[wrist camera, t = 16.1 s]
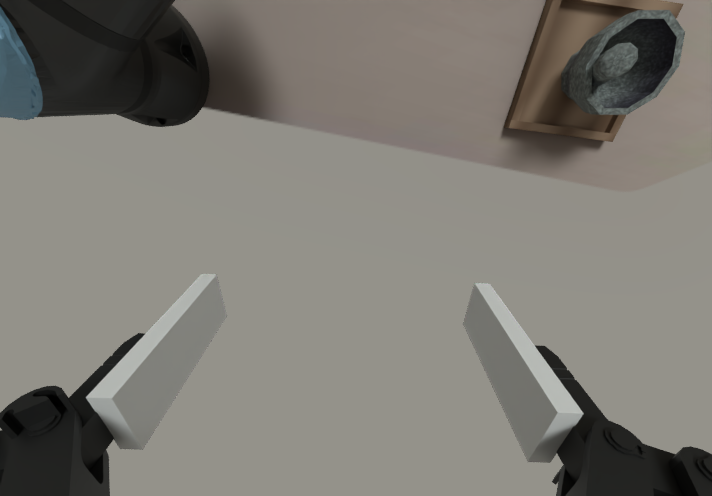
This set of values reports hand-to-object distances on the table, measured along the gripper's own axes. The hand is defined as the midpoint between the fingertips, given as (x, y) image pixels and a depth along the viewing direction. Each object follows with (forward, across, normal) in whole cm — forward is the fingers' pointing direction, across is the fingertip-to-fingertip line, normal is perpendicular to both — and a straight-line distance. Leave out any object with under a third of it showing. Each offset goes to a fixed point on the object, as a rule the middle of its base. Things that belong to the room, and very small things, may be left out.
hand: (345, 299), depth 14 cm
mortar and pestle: (+31, +29, +14) cm, 45 cm away
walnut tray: (+32, +29, +14) cm, 45 cm away
